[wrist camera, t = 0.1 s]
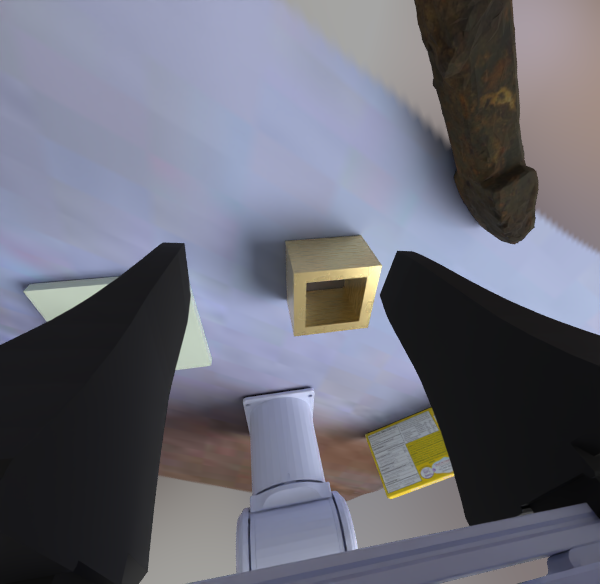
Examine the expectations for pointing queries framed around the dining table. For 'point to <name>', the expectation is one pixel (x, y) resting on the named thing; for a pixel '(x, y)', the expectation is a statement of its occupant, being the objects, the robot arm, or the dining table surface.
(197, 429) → the dining table surface
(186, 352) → the post plate
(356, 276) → the wooden square frame
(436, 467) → the candy box
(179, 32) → the dining table surface
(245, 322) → the dining table surface
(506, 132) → the hand tool
